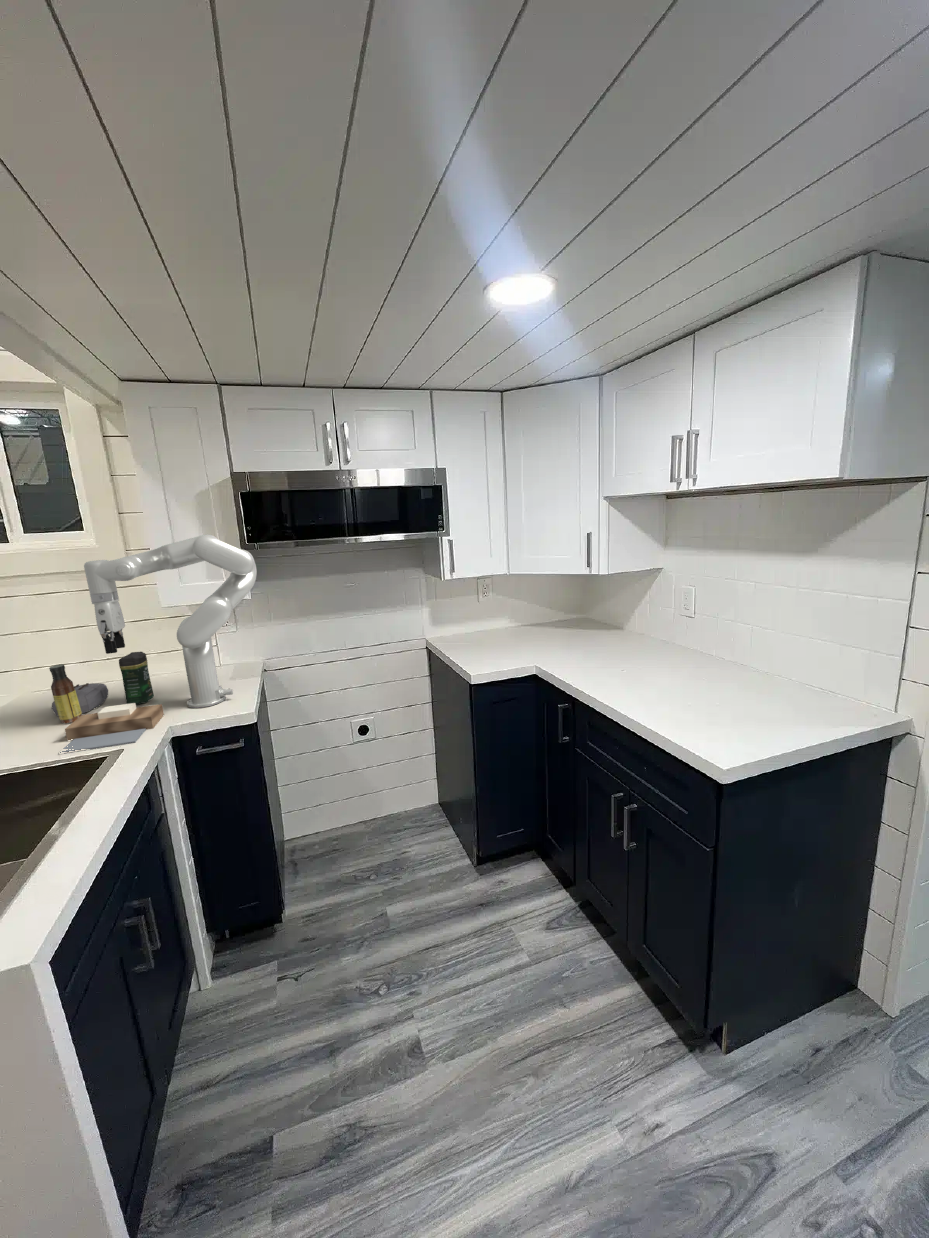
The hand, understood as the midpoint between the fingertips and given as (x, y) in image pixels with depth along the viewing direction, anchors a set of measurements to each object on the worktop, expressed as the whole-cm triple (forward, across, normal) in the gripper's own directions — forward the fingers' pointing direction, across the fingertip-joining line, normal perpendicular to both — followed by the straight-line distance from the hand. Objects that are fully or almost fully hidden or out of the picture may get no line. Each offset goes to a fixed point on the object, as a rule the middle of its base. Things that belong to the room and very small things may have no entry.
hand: (115, 649), depth 175 cm
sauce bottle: (+24, +4, +19) cm, 31 cm away
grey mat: (+24, -22, 0) cm, 32 cm away
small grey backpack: (+24, +17, +21) cm, 36 cm away
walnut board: (+24, -10, 0) cm, 26 cm away
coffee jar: (+24, +16, +1) cm, 28 cm away
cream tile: (+20, -8, 0) cm, 21 cm away
